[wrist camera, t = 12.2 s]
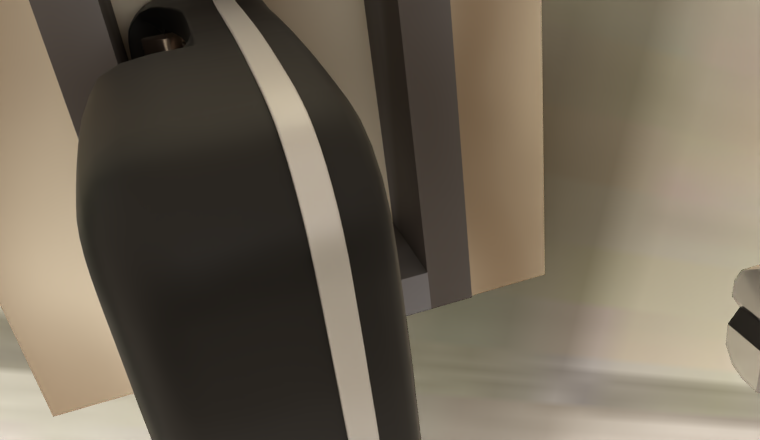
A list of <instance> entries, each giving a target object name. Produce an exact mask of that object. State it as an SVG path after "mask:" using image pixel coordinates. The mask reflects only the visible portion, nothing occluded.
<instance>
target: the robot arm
mask: <svg viewBox="0 0 760 440" xmlns="http://www.w3.org/2000/svg"><path fill="white" fill-rule="evenodd" d="M732 297H733V299H734V300H735V301H736V302H737V304H738V305H739V306H740V308H739V309H738V311H737V312H736V313H735V315H734V316H733V318H732V319H731V320H730V322H729V323H728V328H727V338H726V346H727V349H728V352H729V356H730V359H731V362H732V365H733V366H734V368H735V369H736V370H737V372H738V373H739V375H740V376H741V378H742V379H743V380H744V381H745V382H746V383H747V384H748V385H749V386H750V387H751V388H753V389H754V390H755V391H756V392H758V393H760V265H756V266H753V267H750V268H746V269H743V270H741V272H740V273H739V275H738V276H737V278H736V279H735V281H734V287H733V293H732Z"/></svg>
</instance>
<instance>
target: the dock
mask: <svg viewBox="0 0 760 440" xmlns="http://www.w3.org/2000/svg"><path fill="white" fill-rule="evenodd" d="M151 1H152V0H0V305H1V307H2V309H3V311H4V314H5V316H6V318H7V320H8V322H9V324H10V326H11V328H12V330H13V333H14V335H15V337H16V339H17V341H18V343H19V345H20V347H21V349H22V352H23V354H24V356H25V358H26V360H27V362H28V364H29V366H30V368H31V371H32V373H33V375H34V377H35V379H36V381H37V383H38V385H39V387H40V390H41V392H42V394H43V396H44V398H45V400H46V402H47V404H48V406H49V409H50V411H51V413H52V415H53V417H54V416H57V415H61V414H64V413H67V412H71V411H74V410H78V409H81V408H85V407H88V406H92V405H95V404H99V403H102V402H105V401H109V400H112V399H116V398H119V397H123V396H126V395H130V394H133V393H134V392H133V389H132V387H131V384H130V382H129V379H128V376H127V374H126V371H125V368H124V366H123V363H122V360H121V358H120V355H119V352H118V350H117V347H116V344H115V342H114V339H113V336H112V334H111V331H110V328H109V326H108V323H107V320H106V318H105V315H104V313H103V310H102V307H101V305H100V302H99V299H98V296H97V294H96V291H95V288H94V285H93V283H92V280H91V277H90V274H89V271H88V267H87V264H86V261H85V258H84V254H83V250H82V246H81V242H80V238H79V233H78V226H77V218H76V167H77V152H78V141H79V134H80V126H81V119H82V116H83V113H84V110H85V107H86V104H87V101H88V97H89V95H90V93H91V91H92V89H93V87H94V85H95V83H96V81H97V79H98V78H99V77H100V76H102V75H103V74H105V73H106V72H108V71H109V70H111V69H112V68H114V67H115V66H117V65H118V64H120V63H123V62H126V61H130V60H132V59H131V54H130V49H129V42H128V30H129V27H130V24H131V21H132V19H133V18H134V16H135V14H136V13H137V12H138V11H139V10H140V9H141V8H142V7H144V6H145V5H146V4H148V3H149V2H151ZM263 2H264V3H265V4H266V5H267V7H268V8H269V9H270V10H271V11H272V12H273V13H274V14H276V15H277V16H278V17H279V18H280V19H281V20H282V21H283V22H284V23H285V24H286V25H287V26H288V27H289V28H290V29H291V30H292V31H293V32H294V33H295V35H296V36H297V37H298V38H299V39H300V40H301V41H302V42H303V44H304V45H305V46H306V47H307V48H308V49H309V50H310V52H311V53H312V54H313V55H314V56H315V57H316V59H317V60H318V61H319V62H320V64H321V65H322V66H323V67H324V69H325V70H326V71H327V72H328V74H329V75H330V76H331V78H332V79H333V80H334V81H335V83H336V84H337V85H338V87H339V88H340V89H341V91H342V92H343V93H344V95H345V96H346V97H347V99H348V100H349V102H350V103H351V105H352V106H353V108H354V110H355V111H356V113H357V114H358V116H359V118H360V119H361V121H362V124H363V126H364V128H365V130H366V133H367V135H368V137H369V140H370V142H371V144H372V147H373V150H374V153H375V156H376V159H377V162H378V165H379V168H380V171H381V174H382V177H383V181H384V185H385V190H386V194H387V198H388V202H389V207H390V211H391V216H392V222H393V228H394V234H395V240H396V246H397V252H398V259H399V267H400V274H401V282H402V289H403V297H404V304H405V312H406V316H408V315H412V314H415V313H419V312H422V311H426V310H429V309H433V308H436V307H440V306H443V305H446V304H450V303H453V302H457V301H460V300H464V299H467V298H471V297H472V295H476V294H479V293H482V292H486V291H489V290H493V289H496V288H500V287H503V286H507V285H510V284H514V283H517V282H520V281H524V280H527V279H531V278H534V277H538V276H541V275H545V243H544V161H543V80H542V0H263Z"/></svg>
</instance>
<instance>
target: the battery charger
mask: <svg viewBox="0 0 760 440" xmlns="http://www.w3.org/2000/svg"><path fill="white" fill-rule="evenodd" d="M128 42H129V49H130V54H131V59H132V60H130V61H126V62H123V63H120V64H118V65H117V66H115V67H114V68H112V69H111V70H109V71H108V72H106V73H105V74H103V75H102V76H100V77H99V78H98V79H97V81H96V83H95V85H94V87H93V89H92V91H91V93H90V95H89V97H88V101H87V104H86V107H85V110H84V113H83V116H82V119H81V126H80V134H79V141H78V152H77V167H76V218H77V226H78V233H79V238H80V242H81V246H82V250H83V254H84V258H85V261H86V264H87V267H88V271H89V274H90V277H91V280H92V283H93V285H94V288H95V291H96V294H97V296H98V299H99V302H100V305H101V307H102V310H103V313H104V315H105V318H106V320H107V323H108V326H109V328H110V331H111V334H112V336H113V339H114V342H115V344H116V347H117V350H118V352H119V355H120V358H121V360H122V363H123V366H124V368H125V371H126V374H127V376H128V379H129V382H130V384H131V387H132V389H133V392H134V395H135V397H136V400H137V403H138V405H139V408H140V411H141V413H142V416H143V418H144V421H145V423H146V426H147V429H148V431H149V434H150V436H151V439H152V440H421V434H420V425H419V417H418V408H417V399H416V391H415V382H414V374H413V365H412V357H411V349H410V342H409V334H408V327H407V319H406V312H405V304H404V297H403V289H402V282H401V274H400V267H399V259H398V252H397V246H396V240H395V234H394V228H393V222H392V216H391V211H390V207H389V202H388V198H387V194H386V190H385V185H384V181H383V177H382V174H381V171H380V168H379V165H378V162H377V159H376V156H375V153H374V150H373V147H372V144H371V142H370V140H369V137H368V135H367V133H366V130H365V128H364V126H363V124H362V121H361V119H360V118H359V116H358V114H357V113H356V111H355V110H354V108H353V106H352V105H351V103H350V102H349V100H348V99H347V97H346V96H345V95H344V93H343V92H342V91H341V89H340V88H339V87H338V85H337V84H336V83H335V81H334V80H333V79H332V78H331V76H330V75H329V74H328V72H327V71H326V70H325V69H324V67H323V66H322V65H321V64H320V62H319V61H318V60H317V59H316V57H315V56H314V55H313V54H312V53H311V52H310V50H309V49H308V48H307V47H306V46H305V45H304V44H303V42H302V41H301V40H300V39H299V38H298V37H297V36H296V35H295V33H294V32H293V31H292V30H291V29H290V28H289V27H288V26H287V25H286V24H285V23H284V22H283V21H282V20H281V19H280V18H279V17H278V16H277V15H276V14H274V13H273V12H272V11H271V10H270V9H269V8H268V7H267V5H266V4H265V3H264V2H263V0H152V1H151V2H149V3H148V4H146V5H145V6H144V7H142V8H141V9H140V10H139V11H138V12H137V13H136V14H135V16H134V18H133V19H132V21H131V24H130V27H129V30H128Z"/></svg>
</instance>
